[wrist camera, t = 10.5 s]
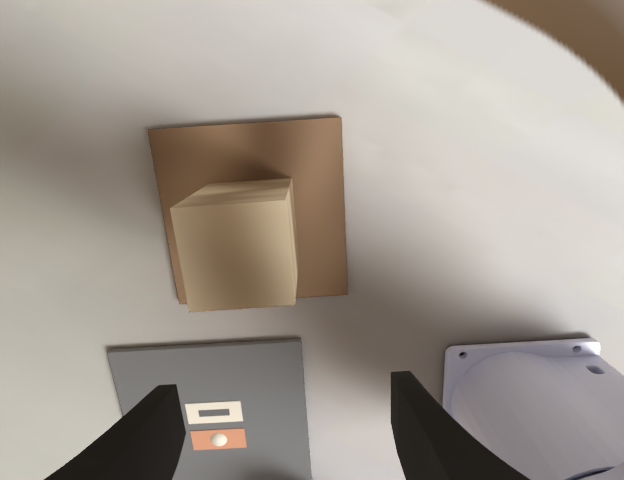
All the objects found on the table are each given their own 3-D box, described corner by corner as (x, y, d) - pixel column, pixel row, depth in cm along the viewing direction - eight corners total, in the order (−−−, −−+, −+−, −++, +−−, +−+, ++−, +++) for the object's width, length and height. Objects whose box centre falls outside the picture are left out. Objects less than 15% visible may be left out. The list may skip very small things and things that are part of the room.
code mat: (300, 338, 24) (300, 342, 23) (312, 484, 27) (312, 490, 27) (110, 349, 24) (106, 353, 24) (146, 492, 28) (143, 499, 27)
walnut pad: (340, 117, 20) (341, 117, 20) (346, 291, 23) (347, 294, 23) (150, 129, 20) (147, 129, 20) (181, 301, 23) (179, 304, 23)
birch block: (291, 177, 20) (285, 200, 15) (298, 256, 22) (295, 304, 16) (208, 183, 21) (169, 208, 15) (220, 262, 22) (189, 312, 16)
